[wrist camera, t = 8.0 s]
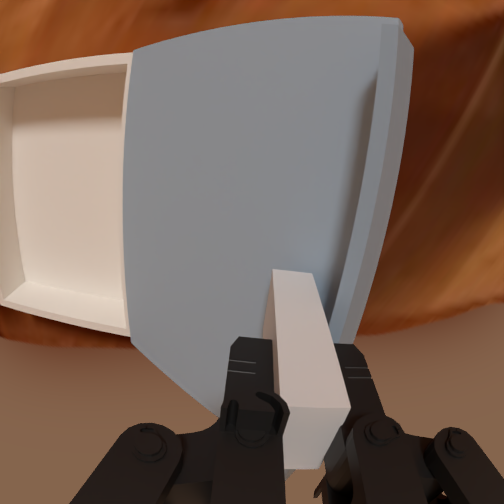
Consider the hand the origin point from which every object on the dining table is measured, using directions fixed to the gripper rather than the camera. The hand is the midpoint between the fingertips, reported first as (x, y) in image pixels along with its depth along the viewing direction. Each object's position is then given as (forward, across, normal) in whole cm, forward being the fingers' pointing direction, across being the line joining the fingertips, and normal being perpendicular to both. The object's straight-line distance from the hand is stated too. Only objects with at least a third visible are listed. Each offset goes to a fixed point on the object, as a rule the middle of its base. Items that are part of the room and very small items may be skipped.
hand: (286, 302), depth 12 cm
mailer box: (+15, -18, 0) cm, 23 cm away
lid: (+3, -5, 0) cm, 6 cm away
